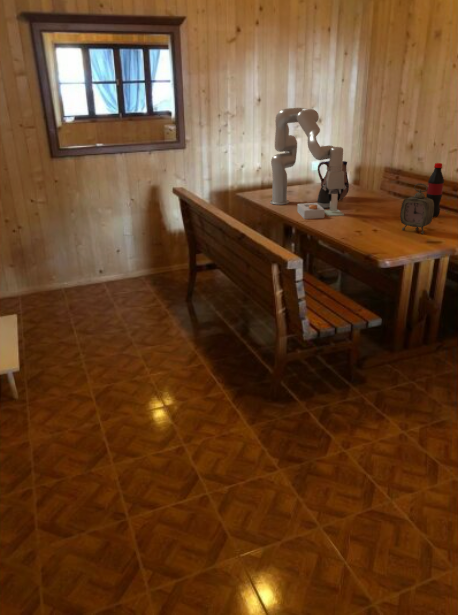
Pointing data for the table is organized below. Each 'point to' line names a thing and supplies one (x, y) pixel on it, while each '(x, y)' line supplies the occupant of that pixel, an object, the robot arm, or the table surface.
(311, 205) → the plunger
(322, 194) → the pump dispenser
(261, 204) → the table surface
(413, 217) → the tabletop clock
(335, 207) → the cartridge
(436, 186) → the cola bottle
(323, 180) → the ceramic pitcher
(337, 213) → the mat
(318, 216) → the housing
